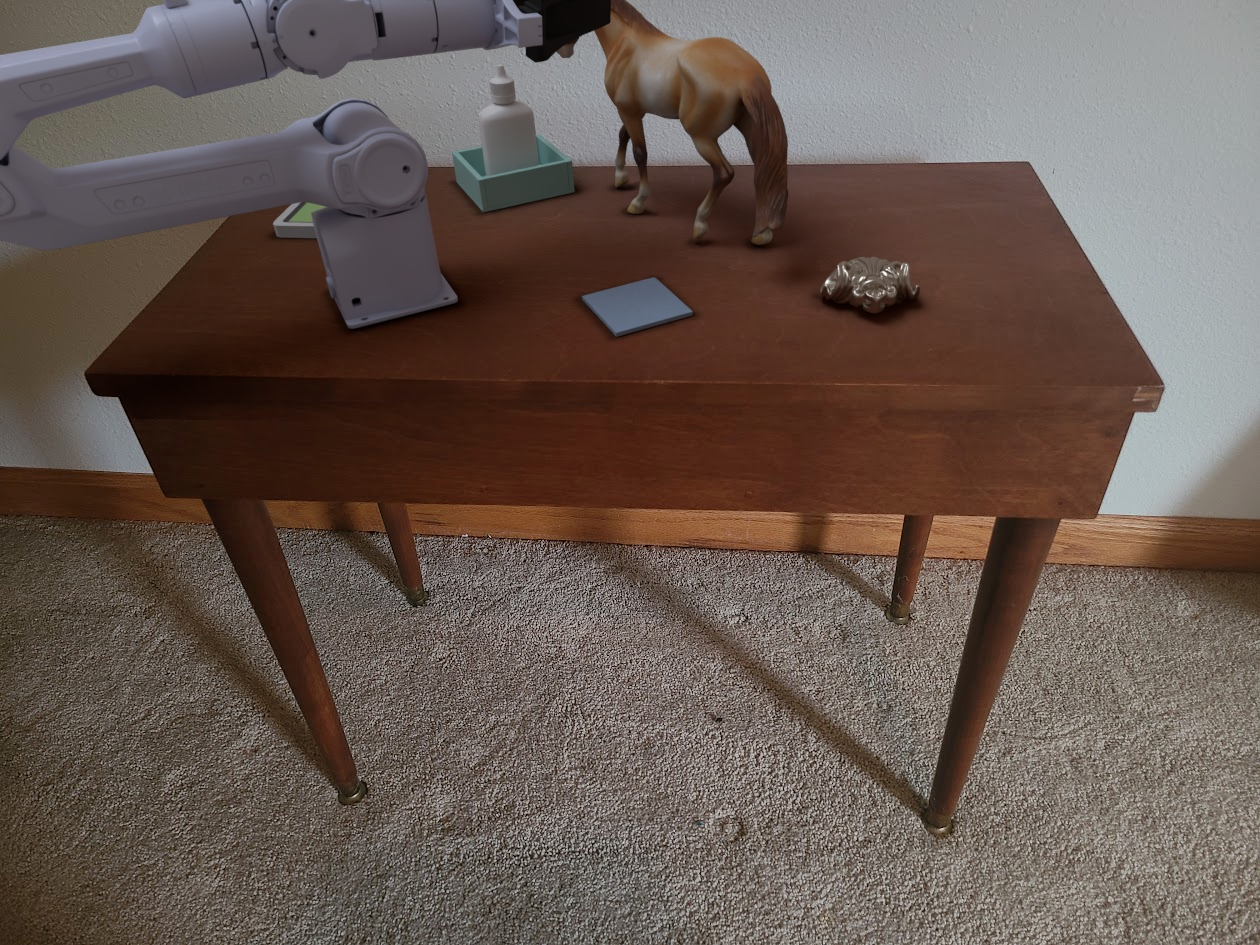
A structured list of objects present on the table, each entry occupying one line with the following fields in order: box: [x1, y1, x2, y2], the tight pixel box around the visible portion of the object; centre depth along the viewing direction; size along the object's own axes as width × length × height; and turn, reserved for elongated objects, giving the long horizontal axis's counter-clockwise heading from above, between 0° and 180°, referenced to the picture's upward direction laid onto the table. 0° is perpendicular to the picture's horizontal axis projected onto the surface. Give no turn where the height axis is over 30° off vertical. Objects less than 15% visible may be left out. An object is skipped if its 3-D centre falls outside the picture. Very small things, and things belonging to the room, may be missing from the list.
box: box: [451, 134, 576, 213], centre depth 96 cm, size 10×9×3 cm
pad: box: [581, 276, 694, 338], centre depth 76 cm, size 7×7×1 cm
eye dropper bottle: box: [478, 63, 539, 176], centre depth 93 cm, size 4×6×12 cm
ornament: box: [818, 256, 921, 314], centre depth 74 cm, size 8×7×4 cm
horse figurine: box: [555, 0, 789, 246], centre depth 82 cm, size 31×8×21 cm, turn 39°
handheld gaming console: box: [272, 202, 326, 239], centre depth 94 cm, size 10×2×15 cm
